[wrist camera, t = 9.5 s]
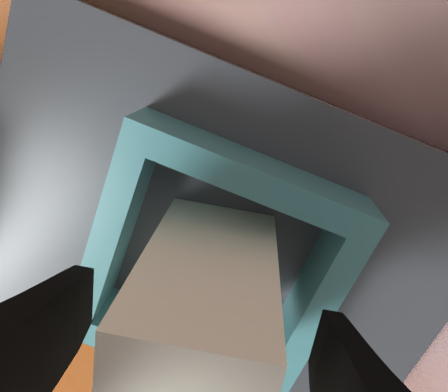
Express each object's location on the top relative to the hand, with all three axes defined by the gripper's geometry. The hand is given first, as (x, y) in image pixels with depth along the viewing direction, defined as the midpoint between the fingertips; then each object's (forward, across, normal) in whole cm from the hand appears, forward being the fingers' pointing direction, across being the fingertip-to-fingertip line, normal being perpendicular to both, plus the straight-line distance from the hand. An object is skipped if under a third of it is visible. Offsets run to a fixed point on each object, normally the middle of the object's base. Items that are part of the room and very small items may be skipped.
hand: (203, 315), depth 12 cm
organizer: (+6, 0, 0) cm, 6 cm away
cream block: (+4, 0, 0) cm, 4 cm away
